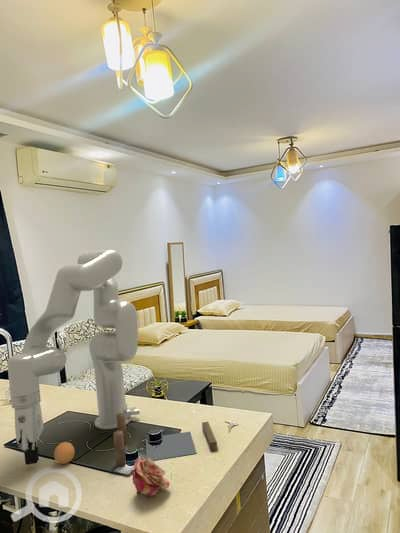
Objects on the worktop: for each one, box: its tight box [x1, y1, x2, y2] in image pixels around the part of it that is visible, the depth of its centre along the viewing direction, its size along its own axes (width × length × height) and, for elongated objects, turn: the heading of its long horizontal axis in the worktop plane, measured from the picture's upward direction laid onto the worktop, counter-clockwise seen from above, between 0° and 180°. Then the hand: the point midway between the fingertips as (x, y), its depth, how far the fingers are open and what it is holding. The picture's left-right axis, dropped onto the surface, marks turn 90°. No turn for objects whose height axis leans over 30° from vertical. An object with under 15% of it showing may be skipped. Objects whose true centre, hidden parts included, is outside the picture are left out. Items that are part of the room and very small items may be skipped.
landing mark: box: [145, 431, 197, 462], centre depth 117 cm, size 14×14×1 cm
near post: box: [113, 430, 127, 468], centre depth 108 cm, size 3×3×9 cm
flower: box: [130, 457, 171, 501], centre depth 94 cm, size 10×9×8 cm
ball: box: [53, 441, 76, 465], centre depth 112 cm, size 6×6×6 cm
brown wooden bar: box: [201, 421, 218, 452], centre depth 119 cm, size 2×14×2 cm, turn 9°
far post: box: [116, 413, 128, 446], centre depth 121 cm, size 3×3×9 cm
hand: (32, 462), depth 111 cm, fingers closed
